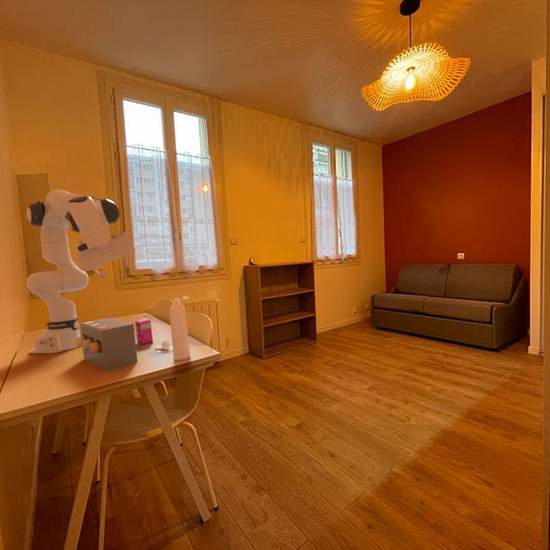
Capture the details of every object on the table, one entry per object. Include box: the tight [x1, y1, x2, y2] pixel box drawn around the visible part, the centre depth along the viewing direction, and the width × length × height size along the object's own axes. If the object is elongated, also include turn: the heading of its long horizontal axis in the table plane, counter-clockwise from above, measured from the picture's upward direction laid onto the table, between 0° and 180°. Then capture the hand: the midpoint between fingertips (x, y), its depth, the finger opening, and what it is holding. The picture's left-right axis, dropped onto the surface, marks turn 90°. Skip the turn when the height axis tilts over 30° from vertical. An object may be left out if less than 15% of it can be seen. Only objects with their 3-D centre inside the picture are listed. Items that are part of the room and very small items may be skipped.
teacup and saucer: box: [154, 340, 173, 353], centre depth 142 cm, size 9×8×4 cm
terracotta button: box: [89, 342, 101, 354], centre depth 119 cm, size 3×4×4 cm
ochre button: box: [76, 336, 87, 348], centre depth 130 cm, size 3×4×4 cm
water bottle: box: [169, 296, 191, 361], centre depth 128 cm, size 9×6×25 cm
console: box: [79, 317, 138, 372], centre depth 130 cm, size 12×26×16 cm, turn 48°
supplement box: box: [134, 318, 154, 346], centre depth 155 cm, size 6×6×12 cm
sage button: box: [81, 339, 93, 350], centre depth 125 cm, size 3×4×4 cm
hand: (115, 272), depth 122 cm, fingers open, 8 cm apart
